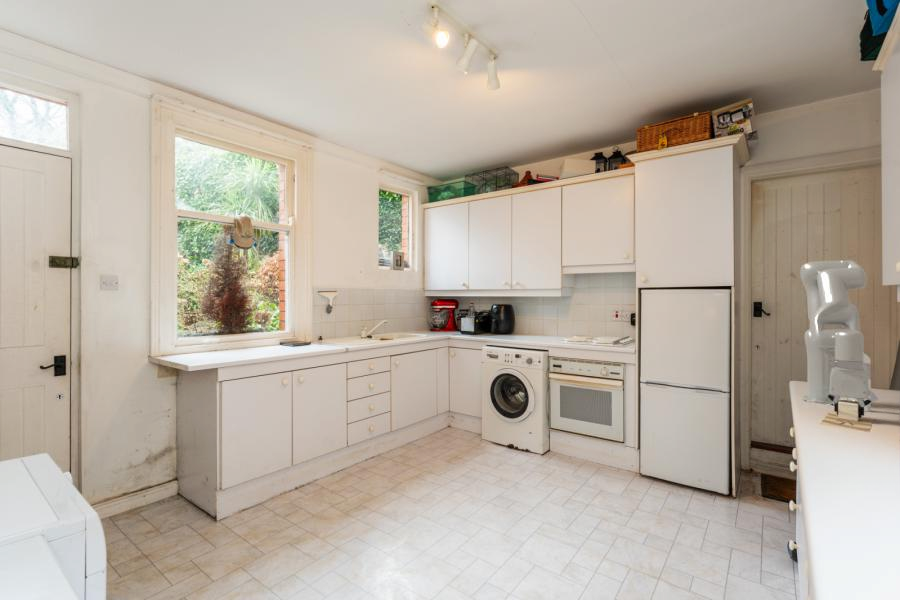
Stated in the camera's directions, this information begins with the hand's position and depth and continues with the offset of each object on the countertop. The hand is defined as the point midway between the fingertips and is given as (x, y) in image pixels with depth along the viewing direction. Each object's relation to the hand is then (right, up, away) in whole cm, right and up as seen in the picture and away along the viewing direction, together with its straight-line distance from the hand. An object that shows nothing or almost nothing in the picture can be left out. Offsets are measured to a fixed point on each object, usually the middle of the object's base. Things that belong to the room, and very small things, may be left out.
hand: (849, 415), depth 151 cm
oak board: (-4, -2, -3) cm, 5 cm away
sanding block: (0, -1, 0) cm, 1 cm away
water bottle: (+15, -2, +12) cm, 20 cm away
